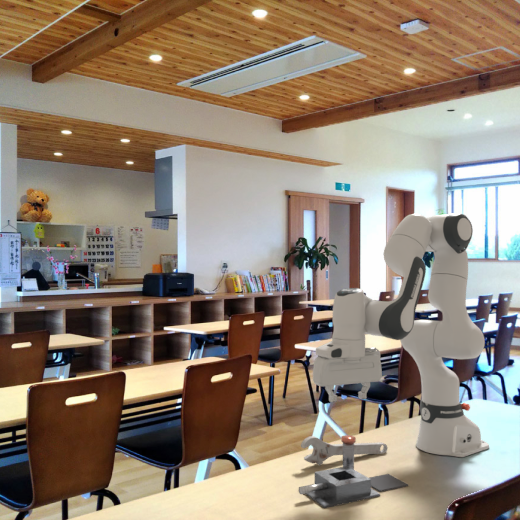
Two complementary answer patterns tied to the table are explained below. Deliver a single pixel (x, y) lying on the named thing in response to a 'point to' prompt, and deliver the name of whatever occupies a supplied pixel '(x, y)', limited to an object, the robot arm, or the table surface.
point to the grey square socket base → (339, 487)
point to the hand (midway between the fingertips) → (347, 400)
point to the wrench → (337, 449)
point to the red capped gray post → (348, 450)
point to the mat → (386, 482)
